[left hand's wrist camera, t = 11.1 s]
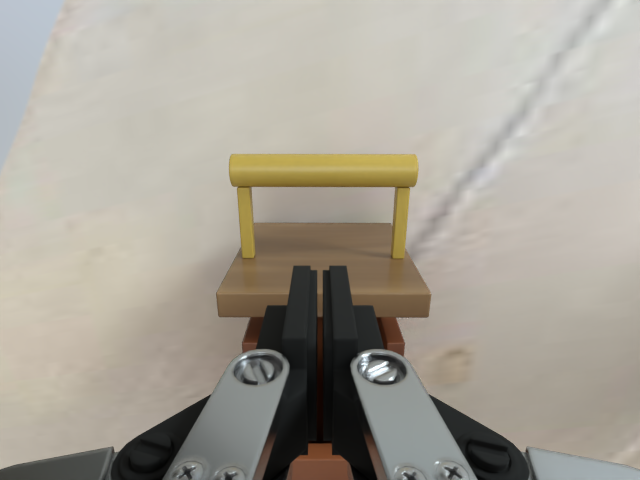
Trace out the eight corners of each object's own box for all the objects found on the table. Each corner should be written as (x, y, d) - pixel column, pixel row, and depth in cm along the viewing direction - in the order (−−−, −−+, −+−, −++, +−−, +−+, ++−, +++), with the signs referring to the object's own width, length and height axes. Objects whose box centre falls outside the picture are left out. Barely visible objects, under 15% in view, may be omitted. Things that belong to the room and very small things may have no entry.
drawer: (248, 141, 23) (202, 168, 14) (396, 141, 23) (446, 168, 14) (266, 437, 31) (244, 576, 22) (376, 437, 31) (399, 576, 22)
